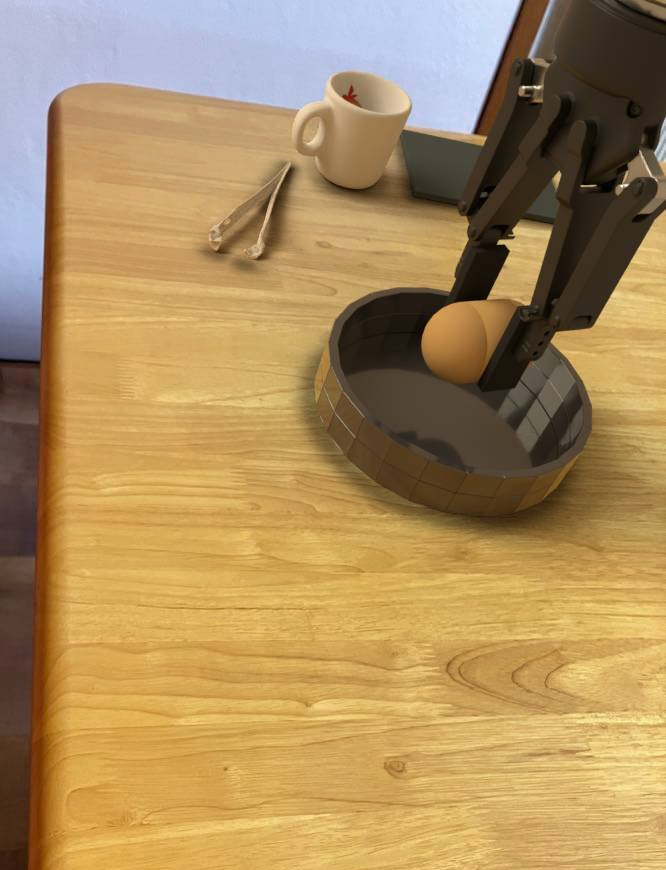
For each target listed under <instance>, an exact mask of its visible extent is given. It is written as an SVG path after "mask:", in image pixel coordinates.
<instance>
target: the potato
mask: <svg viewBox="0 0 666 870" xmlns="http://www.w3.org/2000/svg"><path fill="white" fill-rule="evenodd" d="M518 306H525V304H524V303H523V302H520V301H518V300H514V299H511V298H496V299H495V298H494V299H487V300H480V301H468V302H458V303H453V304H450V305H448V306H446V307H444V308H442V309H441V310H439V311H438V312H437V313H436V314H434V315H433V317H432V318H431V319H430V320H429V322H428V323H427V325H426V327H425V330H424V333H423V336H422V343H421V347H422V354H423V357H424V360H425V362H426V364H427V366H428V368H429V369H430V370H431V371H432V372H433V373H434V374H435V375H436V376H437V377H439V378H441V379H442V380H444V381H447V382H450V383H454V384H468V383H476V382H478V381H479V379H480V377H481V375H482V374H483V372H484V370H485V368H486V366H487V364H488V362H489V360H490V358H491V356H492V354H493V353H494V351H495V349H496V347H497V345H498V343H499V341H500V339H501V337H502V335H503V333H504V331H505V330H506V328H507V326H508V324H509V322H510V320H511V318H512V316H513V314H514V312H515V310H516V309H517V307H518ZM533 362H534V361H530V363H529V364H528V366H527V368H528V367H529V366H530V365H531V364H532V363H533ZM527 368H526V369H527Z"/></svg>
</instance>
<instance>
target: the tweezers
mask: <svg viewBox="0 0 666 870" xmlns="http://www.w3.org/2000/svg"><path fill="white" fill-rule="evenodd" d="M291 166H292V162H291V161H288V162H286V164H285V166H283V168H282V169H281V170H280V171H279V173H277V174H276V175H275V176H274V177H273V178H272V179H271V180H270V181H269V182H268V183H266V184H265V185H264V186H263V187H262V188H260V189H259V190H258V191H257V192H255V193H254V194H253V195H251V196H250V197H248V198H247V199H246V200H244V201H243V202H241V203H240V204H238V205H237V206H236V207H234V208H233V210H232V211H230V213H229V214H228V215H227V216H226V217H224V219H223V220H221V221H220V222H219V223H217V224H215V225H213V227H212V228H211V229H209V231H208V233H209V234H208V242H209V245H210V248H211V249H212V250H213V251H215V252H218V250H219V249H220V247H221V246H222V245H223V237H222V236H223V235H224V234H225V233H226V232H227V231H228V230H229V229H231V228H232V227H233V226H235V225H236V224H237V223H238V222H239V221H240V220H241V218H243V217H244V216H245V215H246V214H247V213H249V212H250V211H251V210H252V209H254V208H256V206H257V205H259V204H260V203H262V201H263V200H265V199H266V198H267V197H268V196H269V195H270V194H271V196H270V199H269V202H268V205H267V210H266V214H265V217H264V220H263V221H264V222H263V223H262V227H261V230H260V232H259V234H258V235H259V236H258V238H257V242H256V244H253V245H252V246H251V247H249V248H248V249H247V248H244V249H243V252H244V257H246V258H249V259H251V260H257V259H258V258H259V257H260V256H261V255H262V254H263V253H264V250H265V245H266V244H265V242H264V239H265V232H266V230H267V229H266V228H267V226H268V222H269V220H270V217H271V214H272V211H273V207H274V205H275V202H276V199H277V196H278V193H279V191H280V189H281V186H282V183H283V182H284V179H285V177H286V176H287V173H288V171H289V170H290V167H291ZM228 219H229V220H228ZM227 220H228V222H226V221H227ZM225 222H226V223H225Z"/></svg>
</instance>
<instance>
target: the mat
mask: <svg viewBox="0 0 666 870" xmlns="http://www.w3.org/2000/svg"><path fill="white" fill-rule="evenodd" d="M399 140H400V143H401V147H402V151H403V157H404V160H405V166H406V171H407V174H408V178H409V182H410V188H411V192H412V197H416V198H420V199H426V200H430V201H436V202H440V203H441V202H442V203H446V204H452V205H455V206H458V203H459V200H460V198H461V195H462V193H463V191H464V188H465V186H466V184H467V182H468V179H469V177H470V175H471V173H472V170H473V168H474V166H475V164H476V161H477V159H478V157H479V154H480V152H481V150H482V148H483V145H481V144H475V143H470V142H466V141H463V140H462V141H461V140H456V139H451V138H447V137H442V136H437V135H432V134H427V133H423V132H419V131H414V130H408V129H404V128H403V130H402V133H401V135H400V137H399ZM556 191H557V190H556V187H555V186H554V184H553V180H551V182H550V183H549V184H548V185H547V187H546V188H545V189H544V190H543V192H542V193H541V194H540V195H539V197H538V198H537V199H536V201H535V202H534V203H533V204H532V206H531V207H530V208H529V209H528V211H527V212H526V213H525V214H524V216H523V217H522V218H521V219H527V220H533V221H538V222H544V223H548V224H552V225H554V222H555V218H556V215H557V212H558V208H559V204H560V203H559V201H558V200H557V199H556ZM486 193H487V192H482V194H481V196H486Z"/></svg>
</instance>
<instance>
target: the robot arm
mask: <svg viewBox="0 0 666 870" xmlns="http://www.w3.org/2000/svg"><path fill="white" fill-rule="evenodd" d="M552 42H553V43H552V46H553V48H552V49H553V52H554V55H555V58H554V59H553V58H540V57H539V58H537V57H536V58H535V57H516V58H515V59H514V60H513V61H512V62H511V65H510V69H509V73H508V78H507V82H506V87H505V90H504V91H505V93H504V95H503V96H504V97H503V100H502V102H501V105H500V106H499V109H498V111H497V114H496V116H495V118H494V121H493V122H492V125H491V127H490V129H489V132H488V134H487V137H486V139H485V141H484V144H483V145H482V146H483V148H482V150H481V152H480V154H479V157H478V159H477V161H476V164H475V166H474V168H473V170H472V173H471V175H470V177H469V179H468V182H467V184H466V186H465V188H464V191H463V193H462V195H461V198H460V200H459V203H458V205H457V213H458V215H459V216H460V217H466V219H467V222H468V226H467V230H466V236H467V241H466V244H465V246H464V248H463V250H462V253H461V256H460V258H459V259H458V262H457V264H456V266H455V269H454V276H453V277H454V278H455V281H454V282H453V285H452V287H451V289H450V291H451V292H450V294H449V296H448V298H447V301H446V303H445V305H444V307H446V306H448V305H450V304H453V303H458V302H468V301H480V300H488V298H489V296H490V294H491V292H492V290H493V288H494V286H495V283H496V282H497V279H498V277H499V276H500V274H501V271H502V269H503V268H504V266H505V263H506V261H507V259H508V256H509V255H510V253H511V250H510V248H508V247H507V245H506V244H505V243H503V244H501V243H500V244H498V243H499V241H507V240H511V241H512V240H514V239H516V236H515V234H514V233H515V232H514V231H513V230H514V229H515V228H516V226H517V225H518V224H519V222H520V221H521V220H522V219H523V218H522V217H523V216H524V214H525V213H526V212H527V211H528V209H529V208H530V207H531V206H532V204H533V203H534V202H535V201H536V199H537V198H538V197H539V195H540V194H541V193H542V192H543V190H544V189H545V188H546V187H547V185H548V184H549V183H550V182H551V181H553V180H554V178H555V176H557V174H558V173H560V178H559V181H558V185H557V187H556V190H555V191H556V199H557V200H558V201H559V203H560V204H559V208H558V212H557V215H556V218H555V222H554V224H552V225H553V226H552V229H551V232H550V235H549V238H548V242H547V246H546V249H545V253H544V256H543V259H542V263H541V265H540V269H539V273H538V276H537V279H536V283H535V287H534V289H533V293H532V297H531V300H530V304H526V305H525V304H524V305H525V306H518V307H517V309H516V310H515V312H514V314H513V316H512V318H511V320H510V322H509V324H508V326H507V328H506V330H505V331H504V333H503V335H502V337H501V339H500V341H499V343H498V345H497V347H496V349H495V351H494V353H493V354H492V356H491V358H490V360H489V362H488V364H487V366H486V368H485V370H484V372H483V374H482V375H481V377H480V379H479V381H478V383H477V386H478V387H479V389H480V390H481V392H490V391H498V390H506V389H514V388H515V387H516V385H517V384H518V382H519V380H520V378H521V377H522V375H523V373H524V371H525V370H526V368H527V366H528V364H529V363H530V361H537V360H538V359H539V358H541V357H542V355H543V354H544V352H545V349H547V347H548V344H549V343H550V342H551V343H552V340H553V339H554V337H555V335H556V333H559V332H569V331H570V332H571V331H581V330H589V329H591V328H593V327H594V326H595V324H596V322H597V321H598V319H599V317H600V315H601V314H602V312H603V310H604V309H605V307H606V305H607V303H608V301H609V300H610V299H611V297H612V295H613V293H614V291H615V289H616V288H617V286H618V285H619V282H620V281H621V279H622V278H623V275H624V274H625V273H626V271H627V269H628V268H629V266H630V264H631V262H632V261H633V258H634V257H635V255H636V253H637V252H638V250H639V248H640V247H641V245H642V243H643V241H644V240H645V238H646V236H647V234H648V232H649V231H650V230H651V228H652V226H653V224H654V222H655V220H656V219H658V218H659V217H660V216H661V215H662V214H663V213H664V212H665V211H666V175H665V172H664V171H663V168H662V167H661V164H660V161H659V160H658V158H657V156H656V154H655V152H656V151H657V148H658V146H659V143H660V139H661V134H662V133H661V132H662V128H663V126H664V123H665V120H666V0H569V2H568V5H567V6H566V9H565V11H564V13H563V15H562V19H561V21H560V23H559V26H558V27H557V30H556V32H555V34H554V37H553V41H552ZM626 173H627V175H626ZM625 177H626V179H625ZM482 192H487V193H486V196H481V194H482ZM444 307H443V308H444Z"/></svg>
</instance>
